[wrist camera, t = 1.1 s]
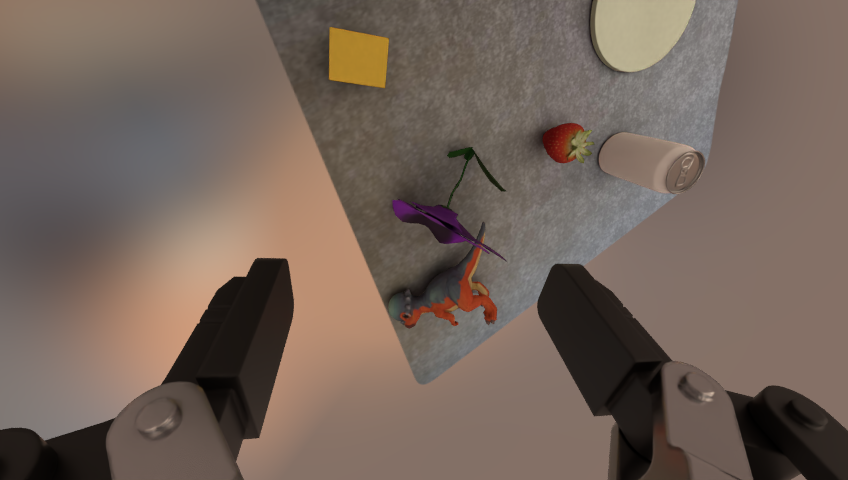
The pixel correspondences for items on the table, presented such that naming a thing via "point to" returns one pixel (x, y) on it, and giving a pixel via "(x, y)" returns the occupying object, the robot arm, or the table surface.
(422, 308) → the toy
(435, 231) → the flower
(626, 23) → the plate
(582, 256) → the table surface
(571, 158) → the fruit
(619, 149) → the can
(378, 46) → the sponge
